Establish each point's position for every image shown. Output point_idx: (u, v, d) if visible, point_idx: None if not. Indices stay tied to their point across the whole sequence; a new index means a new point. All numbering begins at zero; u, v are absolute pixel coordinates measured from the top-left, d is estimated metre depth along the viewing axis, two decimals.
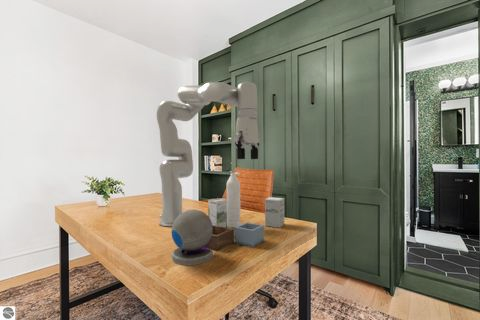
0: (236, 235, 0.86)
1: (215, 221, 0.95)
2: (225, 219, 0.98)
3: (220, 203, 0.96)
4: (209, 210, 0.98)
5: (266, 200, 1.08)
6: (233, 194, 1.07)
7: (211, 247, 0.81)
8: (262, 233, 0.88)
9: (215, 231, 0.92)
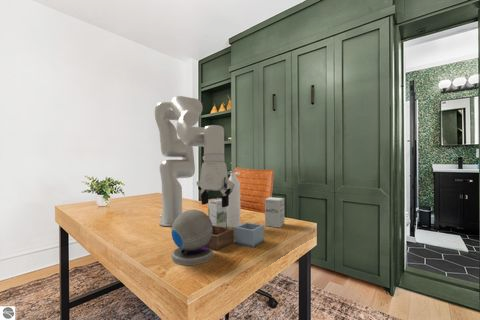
0: (236, 235, 0.86)
1: (215, 221, 0.95)
2: (225, 219, 0.98)
3: (220, 203, 0.96)
4: (209, 210, 0.98)
5: (266, 200, 1.08)
6: (233, 194, 1.07)
7: (211, 247, 0.81)
8: (262, 233, 0.88)
9: (215, 231, 0.92)
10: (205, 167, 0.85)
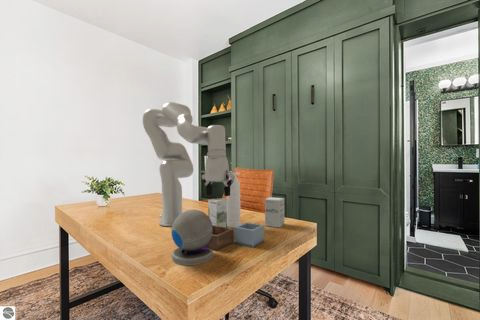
0: (236, 235, 0.86)
1: (215, 221, 0.95)
2: (225, 219, 0.98)
3: (220, 203, 0.96)
4: (209, 210, 0.98)
5: (266, 200, 1.08)
6: (233, 194, 1.07)
7: (211, 247, 0.81)
8: (262, 233, 0.88)
9: (215, 231, 0.92)
10: (209, 162, 0.98)
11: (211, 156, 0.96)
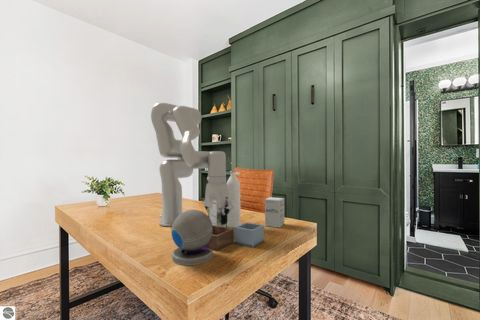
0: (236, 235, 0.86)
1: (215, 221, 0.95)
2: None
3: None
4: (209, 210, 0.98)
5: (266, 200, 1.08)
6: (233, 194, 1.07)
7: (211, 247, 0.81)
8: (262, 233, 0.88)
9: (215, 231, 0.92)
10: (209, 188, 0.98)
11: (211, 183, 0.96)
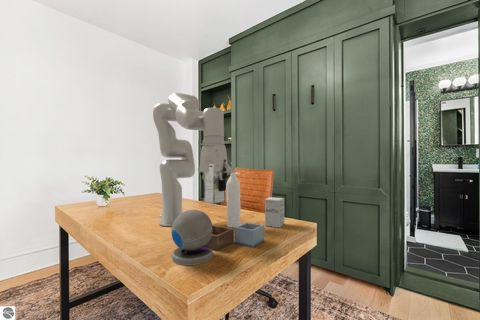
0: (236, 235, 0.86)
1: (211, 187, 0.83)
2: None
3: None
4: (205, 175, 0.86)
5: (266, 200, 1.08)
6: (233, 194, 1.07)
7: (211, 247, 0.81)
8: (262, 233, 0.88)
9: (215, 231, 0.92)
10: (205, 150, 0.85)
11: (207, 143, 0.84)
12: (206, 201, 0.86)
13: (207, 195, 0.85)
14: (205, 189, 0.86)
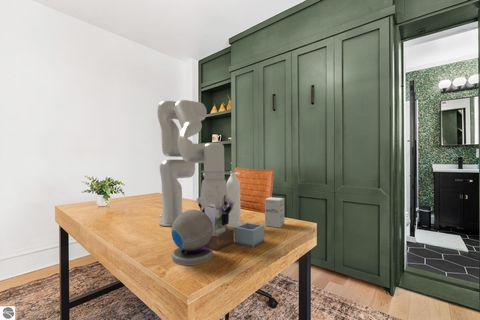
0: (236, 235, 0.86)
1: (213, 228, 0.83)
2: (224, 225, 0.86)
3: None
4: None
5: (266, 200, 1.08)
6: (233, 194, 1.07)
7: (211, 247, 0.81)
8: (262, 233, 0.88)
9: None
10: (205, 185, 0.85)
11: (207, 179, 0.84)
12: None
13: None
14: None
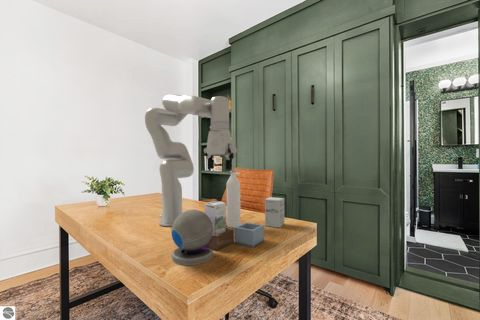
0: (236, 235, 0.86)
1: (213, 228, 0.83)
2: (224, 225, 0.86)
3: (218, 207, 0.84)
4: None
5: (266, 200, 1.08)
6: (233, 194, 1.07)
7: (211, 247, 0.81)
8: (262, 233, 0.88)
9: None
10: (212, 134, 0.95)
11: (213, 128, 0.93)
12: None
13: None
14: None
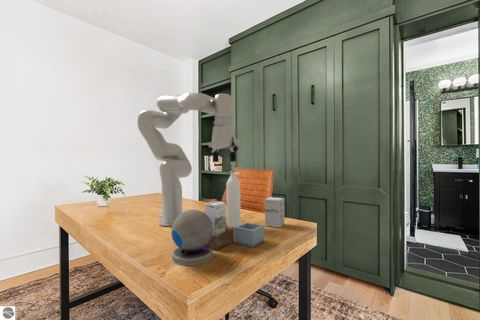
0: (236, 235, 0.86)
1: (213, 228, 0.83)
2: (224, 225, 0.86)
3: (218, 207, 0.84)
4: None
5: (266, 200, 1.08)
6: (233, 194, 1.07)
7: (211, 247, 0.81)
8: (262, 233, 0.88)
9: None
10: (216, 129, 1.02)
11: (218, 123, 1.00)
12: None
13: None
14: None
